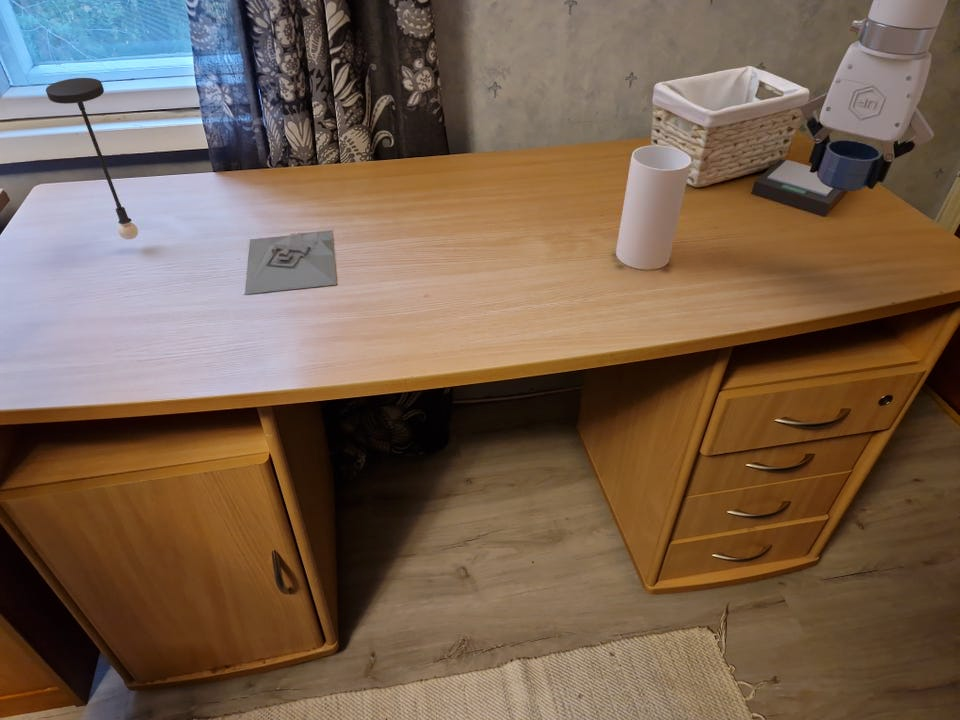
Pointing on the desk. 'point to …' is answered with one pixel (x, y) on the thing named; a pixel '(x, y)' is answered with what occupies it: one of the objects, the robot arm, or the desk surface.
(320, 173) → the desk surface
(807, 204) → the scale
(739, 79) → the basket
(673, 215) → the cup
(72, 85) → the light fixture
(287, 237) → the grey faceted rectangular plate
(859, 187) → the bowl
